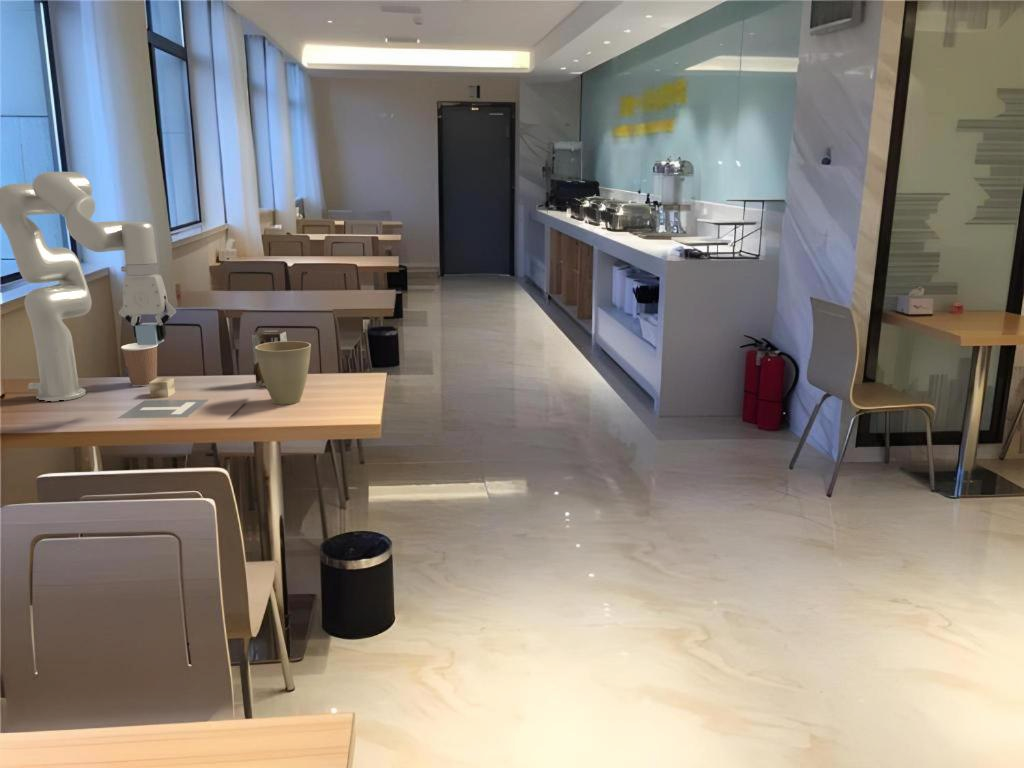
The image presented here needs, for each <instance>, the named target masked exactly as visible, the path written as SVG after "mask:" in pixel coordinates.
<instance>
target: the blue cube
mask: <svg viewBox="0 0 1024 768" xmlns="http://www.w3.org/2000/svg"><path fill="white" fill-rule="evenodd" d="M157 325H158V323H157V322H142V323H140V324H139V325H137V326H135V329H136V337H137V341H136V343H137V345H157V344H158V345H159V344H161V343H163V342H165V339H163V340H161V341H159V340H158V336H157V328H156V326H157ZM136 337H135V338H136Z"/></svg>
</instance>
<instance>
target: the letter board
mask: <svg viewBox="0 0 1024 768" xmlns="http://www.w3.org/2000/svg"><path fill="white" fill-rule="evenodd" d="M209 400H210V399H160V400H159V399H155V400H154V399H153V400H152V399H151V400H150V399H149V400H148V399H147V400H143V401H142V402H139V404H137V405H135V406H134V407H132V408H131V409H129V410H128V411H126V412H124V413H123V414H121V415H120V416H118V417H117V419H159V418H160V419H161V418H164V419H166V418H188V417H189V416H190V415H192V414H193V413H194V412H195V411H197V410H198V409H200V408H201V407H202V406H203V405H205V403H207V402H208V401H209Z"/></svg>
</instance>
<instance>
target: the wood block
mask: <svg viewBox="0 0 1024 768" xmlns="http://www.w3.org/2000/svg"><path fill="white" fill-rule="evenodd" d="M149 385H150V386H149V392H150V394H149V395H150V398H169V397H171V396H172V395H174V394H175V393H176V390H175V389H176V388H175V387H176V386H175V378H174V377H173V378H172V377H171V378H170V377H169V378H166V377H164V378H163V377H162V378H161V377H159V378H158V377H157V378H156V379H154V380H153V381H151V382H149Z"/></svg>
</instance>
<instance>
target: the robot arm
mask: <svg viewBox="0 0 1024 768" xmlns="http://www.w3.org/2000/svg"><path fill="white" fill-rule="evenodd" d="M92 194H93V188H92V185H91V182H90V180H88V178H87V177H86V176H85V175H84V174H82V173H79V172H75V171H46V172H42V173H40V174H38V175H37V176H35V178H34V179H33V181H32V182H30V183H29V182H27V183H23V182H21V183H9V184H5V185H3V186H1V187H0V226H1V227H2V229H3V231H4V233H5V234H6V236H7V239H8V241H9V244H10V247H11V251H12V255H13V257H14V260H15V262H16V266H17V269H18V271H19V274H20V275H21V277H22V279H23V280H24V281H25V282H26V283H27V284H45V283H52V282H53V283H54V282H58V283H59V285H50V286H44V287H43V286H42V287H38V288H34V289H33V290H31V291H29V292H28V293H27V294H26V296H25V298H24V303H23V304H24V307H25V308H24V309H25V311H26V314H27V317H28V319H29V320H28V321H29V323H30V326H31V332H32V334H33V335H32V337H33V342H34V349H35V353H36V355H35V356H36V362H37V367H38V368H37V369H38V374H39V382H38V383H37V382H29V383H28V385H27V389H28V391H31V392H32V391H36V392H37V394H36V395H35V397H36V400H37V399H39V400H45V401H44V402H47V401H51V402H60V401H59V400H64V401H70V400H74V399H79V398H82V397H83V396H85V395H86V392H87V391H86V389H85V388H82V387H80V385H79V378H78V377H79V376H78V372H77V369H78V368H77V363H76V356H75V349H74V341H73V336H72V333H71V331H70V329H69V328H68V327H67V325H66V324H65V323H64V322H63V320H65V319H71V318H77V317H81V316H85V315H87V314H88V313H89V312H90V311H91V308H92V296H91V293H90V290H89V286H88V284H87V280H86V277H85V274H84V271H83V267H82V264H81V263H80V260H79V258H78V257H77V255H76V254H75V252H74V251H73V250H71V249H69V248H68V247H62V246H59V247H58V246H57V247H48V245H47V243H46V240H45V236H44V234H43V232H42V230H41V229H40V227H38V225H37V224H36V223H35V222H34V221H33V220H31V219H30V218H29V217H28V216H30V215H31V216H33V215H35V216H36V215H55V214H58V215H59V214H60V216H62V217H63V218H64V219H65V225H66V228H67V231H68V233H69V235H70V236H71V237H72V239H73V240H75V241H76V242H77V243H79V244H80V245H81V246H82V247H84V248H86V249H88V250H89V251H92V252H95V253H104V252H105V253H107V252H115V251H118V252H120V251H123V253H124V255H123V256H124V263H125V264H124V266H121V267H120V270H121V272H123V273H125V275H126V276H124V277H123V283H122V302H123V304H122V306H121V308H120V309H119V310H118V315H120V316H121V317H123V318H124V319H125V320H126V321H127V322H128V323H129V324H130V325H131V326H132V327H133V335H134V338H135V341H136V342H137V337H136V329H135V326H137V325H139V324H141V318H142V316H154V317H155V320H156V323H158V325H157V326H156V328H157V336H158V340H159V341H161V340H163V339H164V340H165V339H166V336H167V333H166V331H167V330H166V324H167V323H168V321H169V320H170V319H171V318H172V317H173V316H174V315H175V314H176V313H177V310H176V309H175V307H173V306H172V304H171V303H170V302H169V301H168V295H167V290H166V286H165V283H164V280H163V277H162V274H159V267H158V258H157V250H156V249H157V248H156V242H155V233H154V232H155V231H154V227H153V225H152V224H151V223H150V222H147V221H146V222H145V221H135V222H134V221H129V220H117V221H116V220H112V221H93V220H91V218H92V217H93V215H94V213H95V210H96V202H95V200H94V199H93V197H92ZM166 312H167V313H166ZM164 313H165V314H164ZM39 400H38V401H39Z"/></svg>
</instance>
